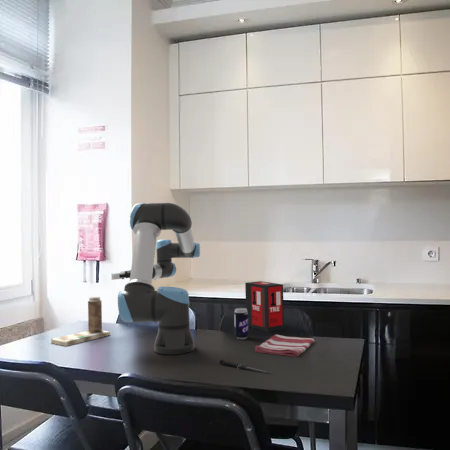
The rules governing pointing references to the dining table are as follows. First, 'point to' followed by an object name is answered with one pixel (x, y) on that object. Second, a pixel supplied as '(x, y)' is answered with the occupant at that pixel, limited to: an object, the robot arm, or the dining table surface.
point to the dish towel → (285, 345)
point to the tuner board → (79, 337)
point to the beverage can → (241, 323)
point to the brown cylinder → (94, 314)
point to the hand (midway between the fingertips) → (112, 276)
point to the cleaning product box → (265, 305)
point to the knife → (243, 366)
